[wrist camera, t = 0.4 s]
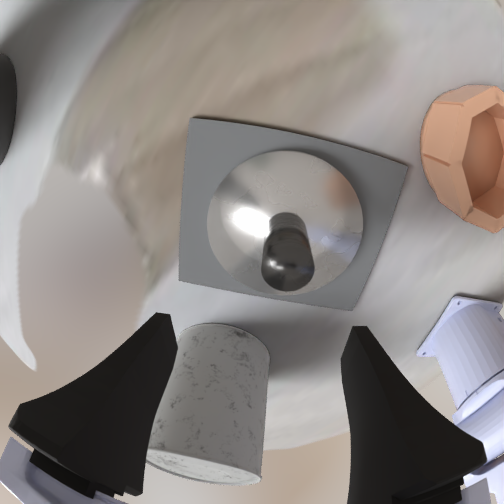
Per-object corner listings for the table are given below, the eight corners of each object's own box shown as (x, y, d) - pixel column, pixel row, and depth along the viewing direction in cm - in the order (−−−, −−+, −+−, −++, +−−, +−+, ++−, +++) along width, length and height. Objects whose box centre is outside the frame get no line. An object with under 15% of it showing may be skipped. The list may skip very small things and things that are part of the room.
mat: (405, 165, 15) (408, 166, 15) (351, 307, 21) (352, 311, 21) (191, 117, 15) (189, 118, 15) (180, 277, 21) (178, 280, 20)
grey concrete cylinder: (235, 309, 22) (206, 452, 11) (286, 370, 26) (283, 484, 15) (156, 338, 25) (112, 445, 14) (212, 388, 29) (192, 483, 18)
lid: (378, 171, 15) (414, 197, 11) (333, 298, 20) (345, 348, 16) (219, 137, 15) (194, 148, 11) (204, 275, 20) (184, 323, 15)
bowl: (510, 122, 11) (542, 131, 8) (484, 219, 16) (512, 241, 12) (432, 68, 11) (465, 63, 8) (405, 187, 16) (433, 208, 12)
